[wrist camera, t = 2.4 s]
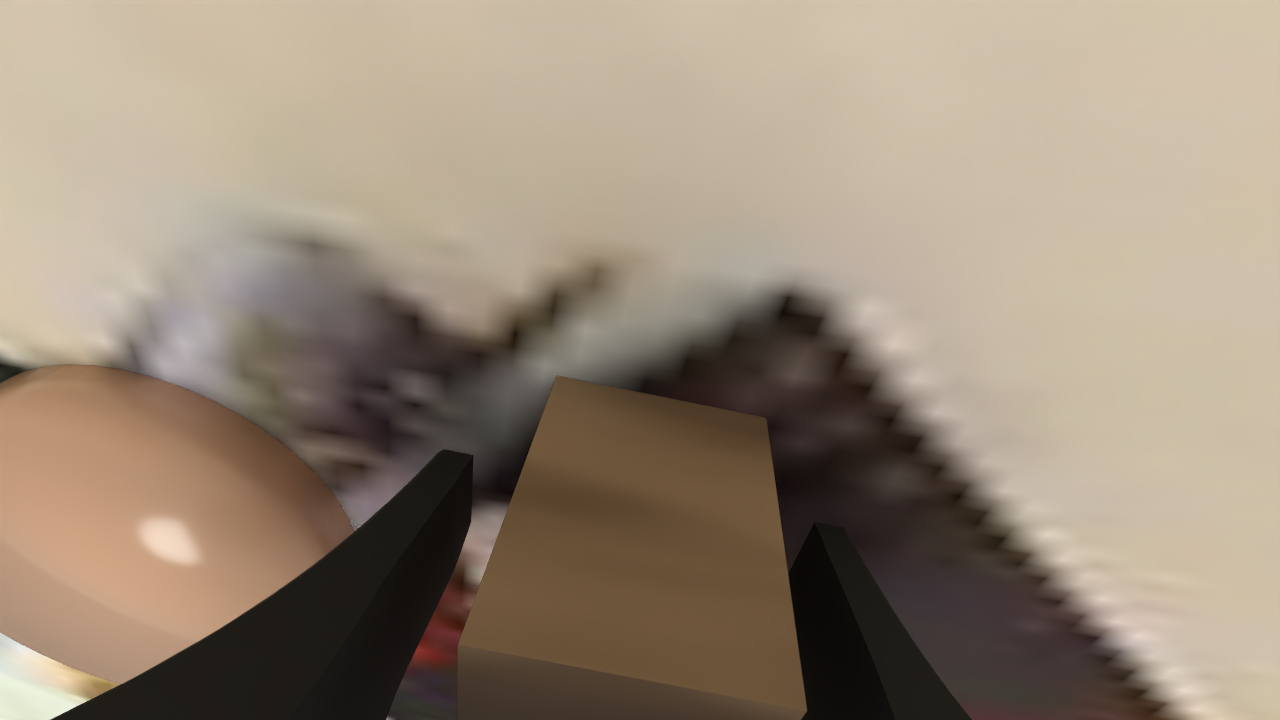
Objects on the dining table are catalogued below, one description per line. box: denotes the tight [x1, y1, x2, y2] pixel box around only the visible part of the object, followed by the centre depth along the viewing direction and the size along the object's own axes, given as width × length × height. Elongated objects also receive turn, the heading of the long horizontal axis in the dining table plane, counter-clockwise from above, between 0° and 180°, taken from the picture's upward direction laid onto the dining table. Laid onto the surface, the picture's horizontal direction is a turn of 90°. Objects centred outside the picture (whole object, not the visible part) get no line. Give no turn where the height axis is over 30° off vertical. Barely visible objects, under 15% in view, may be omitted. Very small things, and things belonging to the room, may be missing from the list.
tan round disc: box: [0, 365, 354, 684], centre depth 15 cm, size 10×10×2 cm
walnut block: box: [457, 376, 807, 720], centre depth 11 cm, size 4×4×6 cm
